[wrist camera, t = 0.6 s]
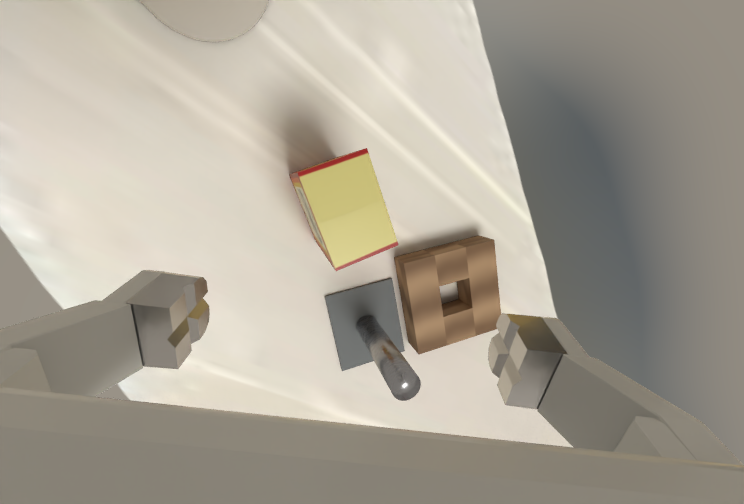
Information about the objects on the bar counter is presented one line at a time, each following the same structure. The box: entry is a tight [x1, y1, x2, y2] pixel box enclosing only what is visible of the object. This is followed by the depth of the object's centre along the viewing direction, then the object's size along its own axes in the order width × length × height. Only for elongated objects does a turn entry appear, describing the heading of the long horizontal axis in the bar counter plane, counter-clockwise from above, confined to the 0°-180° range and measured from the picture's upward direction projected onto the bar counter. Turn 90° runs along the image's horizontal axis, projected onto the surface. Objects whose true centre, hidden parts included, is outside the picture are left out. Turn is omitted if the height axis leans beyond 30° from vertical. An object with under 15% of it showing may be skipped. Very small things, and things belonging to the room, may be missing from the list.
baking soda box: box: [289, 148, 398, 271], centre depth 39 cm, size 10×6×16 cm
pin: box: [356, 315, 421, 401], centre depth 44 cm, size 3×3×16 cm
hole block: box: [394, 236, 501, 354], centre depth 52 cm, size 14×14×4 cm
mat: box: [325, 278, 405, 371], centre depth 52 cm, size 12×10×1 cm
